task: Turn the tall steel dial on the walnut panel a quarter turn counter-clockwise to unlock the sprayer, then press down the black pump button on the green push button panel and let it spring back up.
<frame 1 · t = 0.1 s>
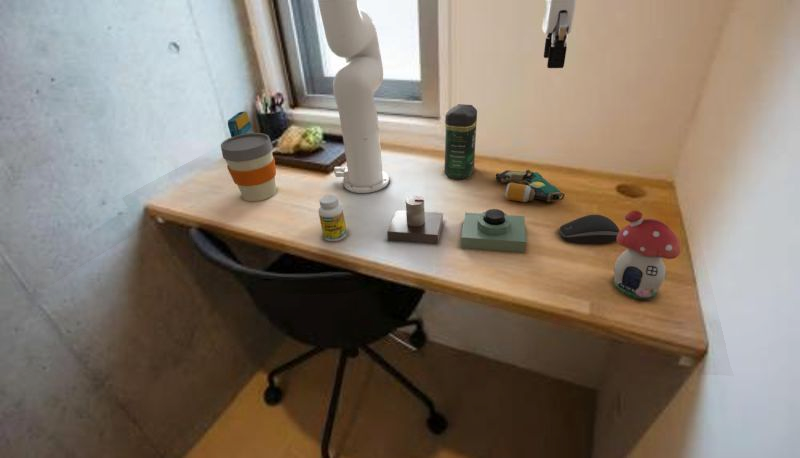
hand: (552, 62, 89), 31 cm above the table, tool pointing down, fingers open, 9 cm apart
decorative ornament: (632, 288, 74), on the table
green push button panel: (492, 236, 90), on the table
reusable coffee cup: (259, 193, 114), on the table
coffee jar: (459, 173, 117), on the table
supplement bottle: (335, 236, 94), on the table
dial panel: (416, 231, 93), on the table
pump button: (494, 217, 87), point 5 cm above the table, slide at 0.1 cm
computer mouse: (588, 236, 88), on the table
dial: (415, 210, 90), point 5 cm above the table, hinge at 0.0°
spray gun: (526, 191, 106), on the table
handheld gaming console: (251, 163, 132), on the table
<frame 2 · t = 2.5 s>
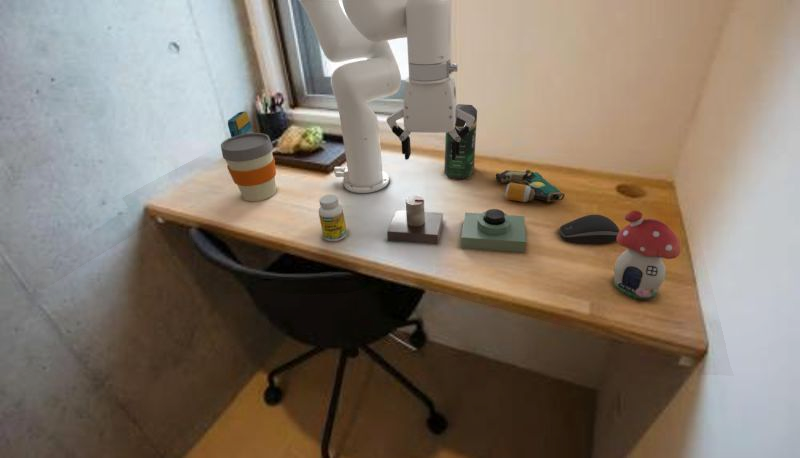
hand: (430, 157, 85), 17 cm above the table, tool pointing down, fingers open, 9 cm apart
nothing on the table moved.
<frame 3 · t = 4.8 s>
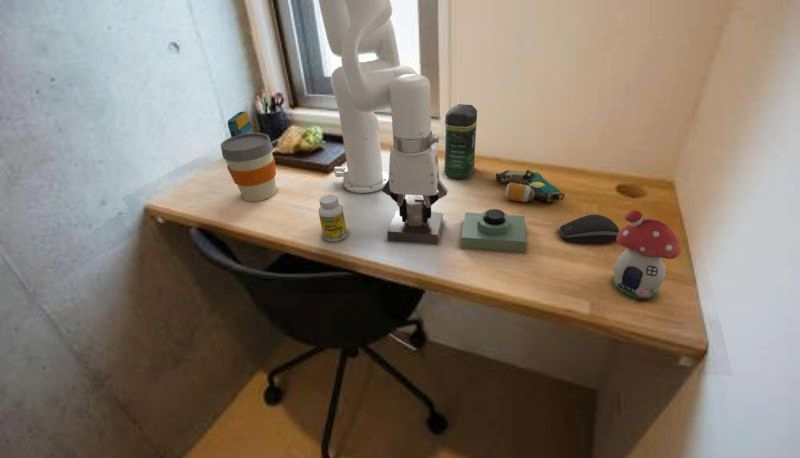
hand: (415, 218, 92), 3 cm above the table, tool pointing down, fingers closed on dial, 4 cm apart
dial: (415, 210, 90), point 5 cm above the table, hinge at 0.1°, touching gripper
everything else where it was.
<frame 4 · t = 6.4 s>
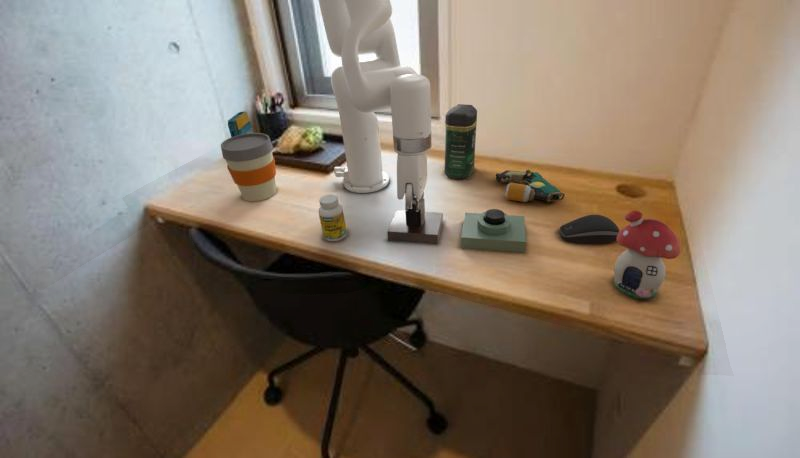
hand: (415, 218, 92), 3 cm above the table, tool pointing down, fingers closed on dial, 4 cm apart
dial: (415, 210, 90), point 5 cm above the table, hinge at 89.7°, touching gripper
everything else where it was.
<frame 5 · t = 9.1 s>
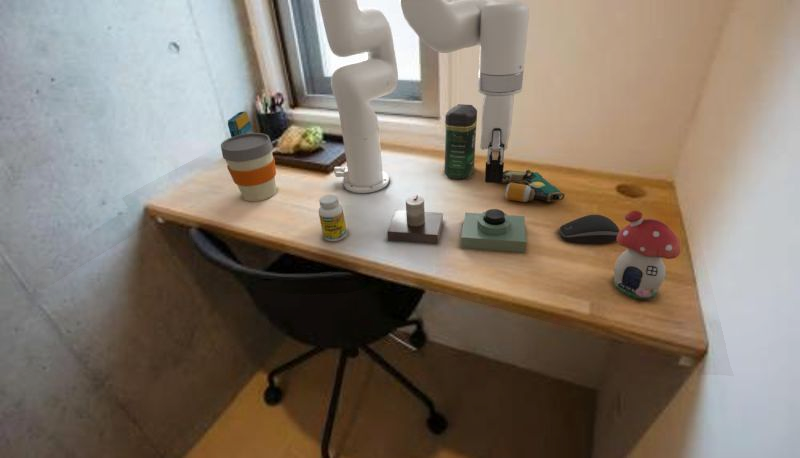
hand: (494, 171, 81), 16 cm above the table, tool pointing down, fingers open, 9 cm apart
dial: (415, 210, 90), point 5 cm above the table, hinge at 89.2°
everything else where it was.
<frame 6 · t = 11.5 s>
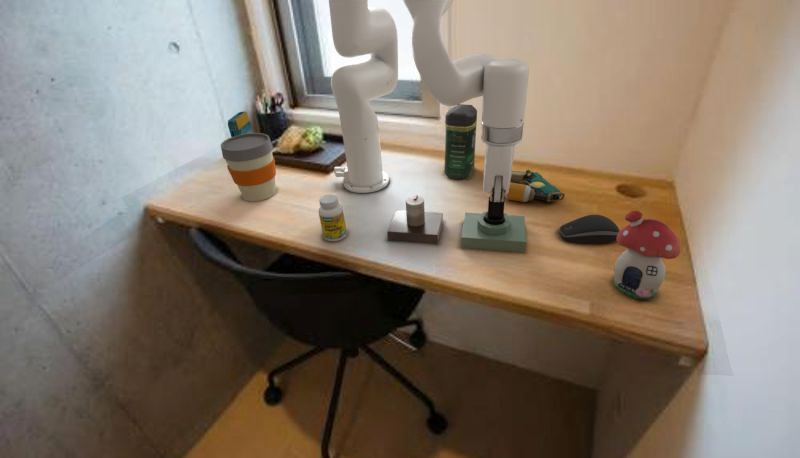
hand: (495, 215, 87), 6 cm above the table, tool pointing down, fingers closed
pump button: (494, 218, 87), point 5 cm above the table, slide at -0.3 cm, touching gripper
everything else where it was.
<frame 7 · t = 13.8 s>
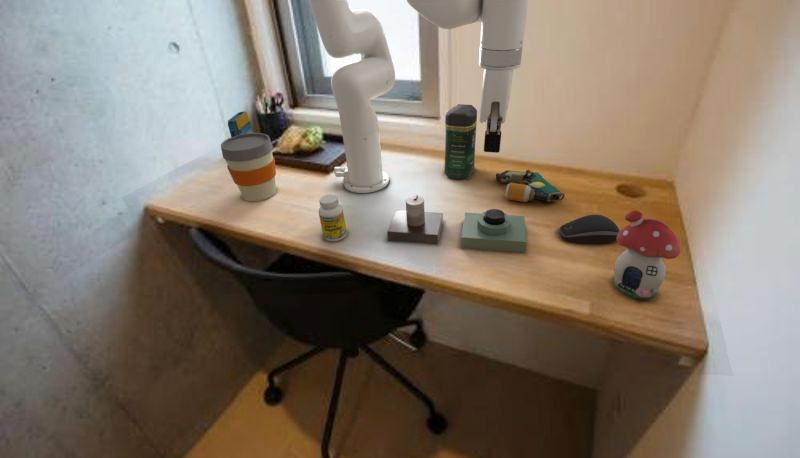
hand: (491, 150, 86), 17 cm above the table, tool pointing down, fingers closed
pump button: (494, 217, 87), point 5 cm above the table, slide at 0.1 cm
everything else where it was.
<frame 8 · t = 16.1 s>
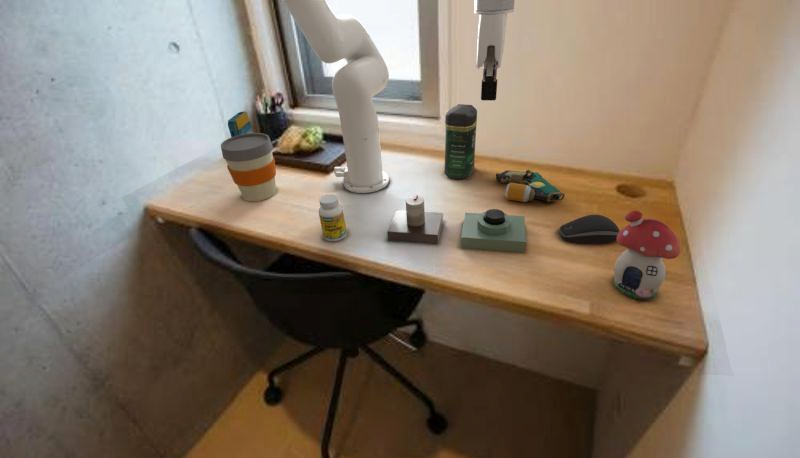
hand: (488, 99, 90), 25 cm above the table, tool pointing down, fingers closed
nothing on the table moved.
at the end: dial at +89° (first picture: +0°); pump button pushed in 1.1 cm at the most during the clip, back to where it started at the end; pump button slide at 0.1 cm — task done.
